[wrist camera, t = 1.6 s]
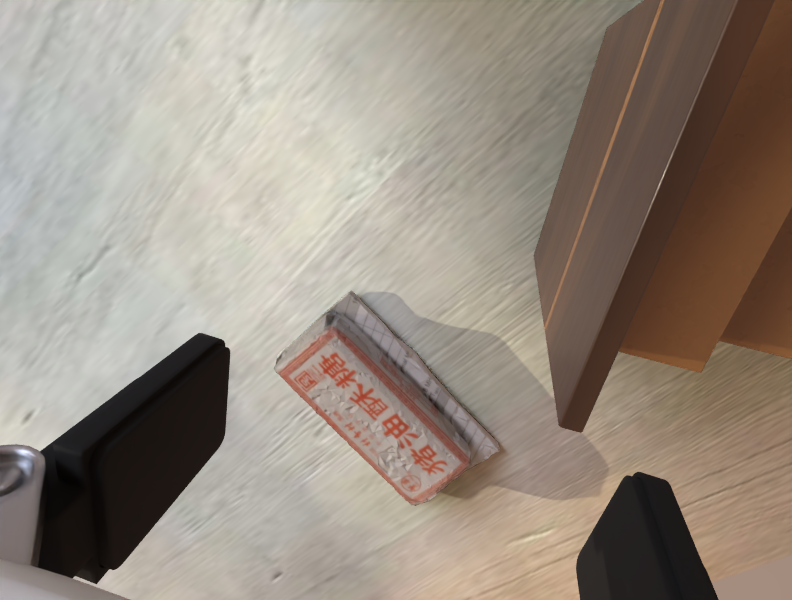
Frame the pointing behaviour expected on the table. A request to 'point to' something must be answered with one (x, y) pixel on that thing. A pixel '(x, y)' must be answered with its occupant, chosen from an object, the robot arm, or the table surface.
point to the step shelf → (673, 197)
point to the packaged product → (383, 401)
